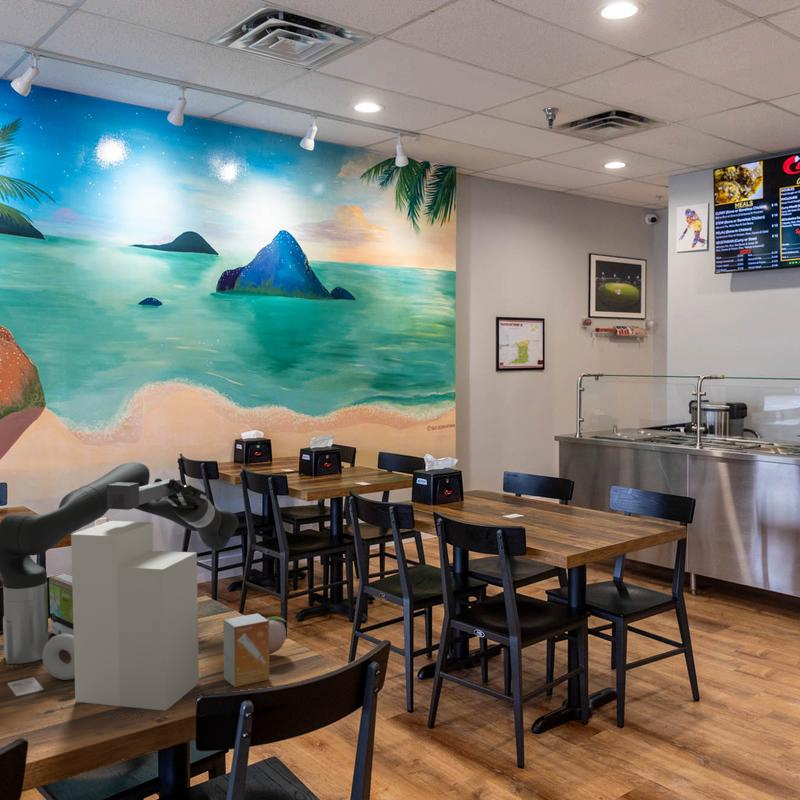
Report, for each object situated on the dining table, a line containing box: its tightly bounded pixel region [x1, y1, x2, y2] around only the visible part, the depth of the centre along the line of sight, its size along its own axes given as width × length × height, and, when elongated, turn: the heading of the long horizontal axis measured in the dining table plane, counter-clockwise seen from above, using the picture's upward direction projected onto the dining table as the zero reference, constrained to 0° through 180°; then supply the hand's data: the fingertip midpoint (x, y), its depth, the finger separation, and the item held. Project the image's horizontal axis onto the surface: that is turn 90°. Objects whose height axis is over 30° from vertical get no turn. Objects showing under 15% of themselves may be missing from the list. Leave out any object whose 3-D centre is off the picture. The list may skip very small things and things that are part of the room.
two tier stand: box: [70, 520, 200, 712], centre depth 169 cm, size 14×20×34 cm
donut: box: [41, 633, 75, 681], centre depth 177 cm, size 10×3×10 cm, turn 82°
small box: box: [222, 613, 270, 688], centre depth 176 cm, size 8×6×13 cm
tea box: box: [48, 571, 74, 636], centre depth 205 cm, size 15×10×15 cm, turn 49°
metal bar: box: [107, 478, 182, 511], centre depth 182 cm, size 24×5×5 cm, turn 167°
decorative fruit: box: [265, 613, 287, 656], centre depth 189 cm, size 9×8×10 cm
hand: (163, 482), depth 188 cm, fingers closed on metal bar, 3 cm apart
